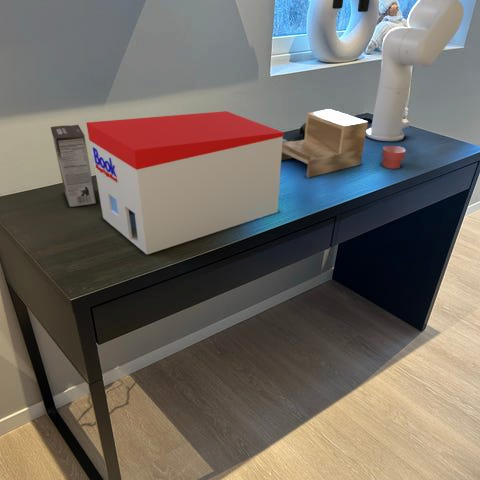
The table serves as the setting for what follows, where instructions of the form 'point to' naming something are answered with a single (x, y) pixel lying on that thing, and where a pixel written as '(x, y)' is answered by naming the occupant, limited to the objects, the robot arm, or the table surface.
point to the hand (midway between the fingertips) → (349, 10)
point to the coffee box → (74, 164)
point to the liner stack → (392, 156)
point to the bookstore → (184, 175)
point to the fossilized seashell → (303, 129)
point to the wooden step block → (328, 142)
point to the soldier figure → (284, 140)
